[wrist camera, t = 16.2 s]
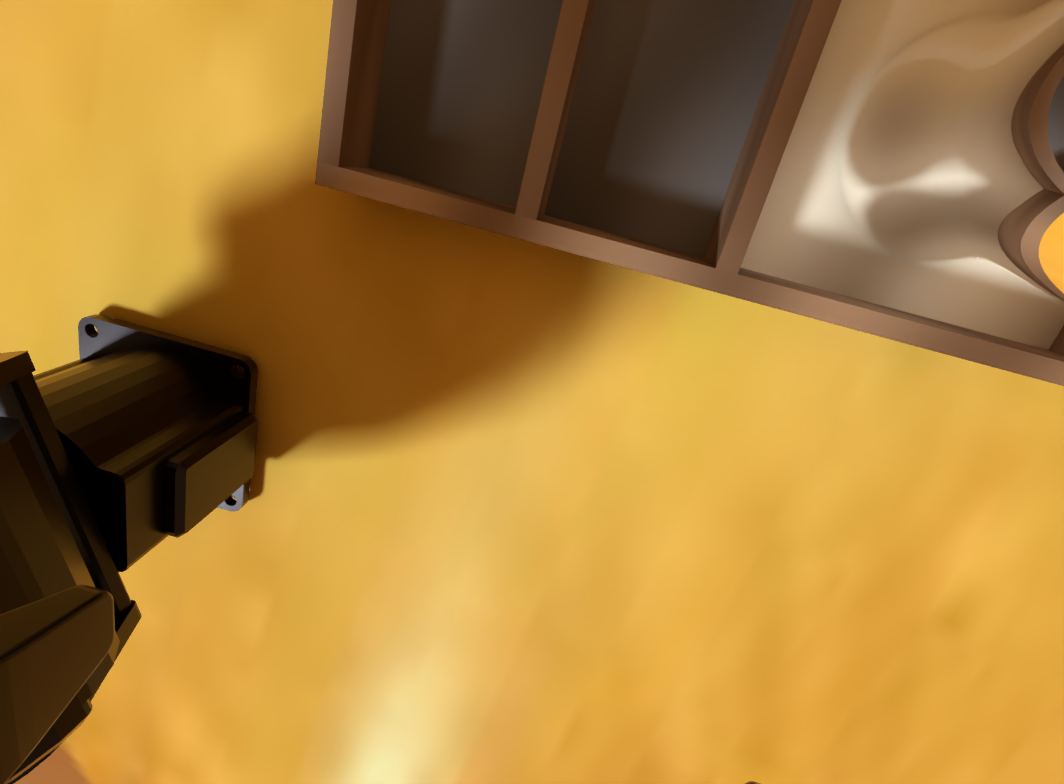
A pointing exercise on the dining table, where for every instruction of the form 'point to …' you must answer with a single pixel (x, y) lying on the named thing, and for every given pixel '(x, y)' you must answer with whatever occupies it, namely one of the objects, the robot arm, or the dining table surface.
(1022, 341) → the box
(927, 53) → the metal cup
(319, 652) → the dining table surface
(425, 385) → the dining table surface
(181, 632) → the dining table surface
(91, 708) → the robot arm
